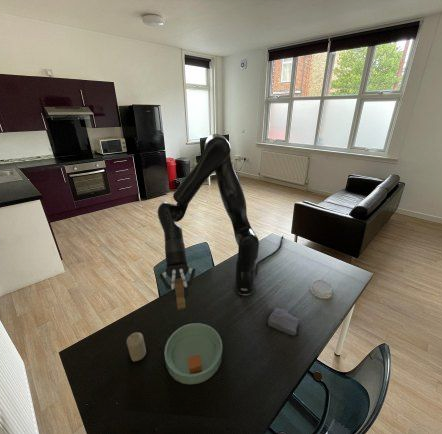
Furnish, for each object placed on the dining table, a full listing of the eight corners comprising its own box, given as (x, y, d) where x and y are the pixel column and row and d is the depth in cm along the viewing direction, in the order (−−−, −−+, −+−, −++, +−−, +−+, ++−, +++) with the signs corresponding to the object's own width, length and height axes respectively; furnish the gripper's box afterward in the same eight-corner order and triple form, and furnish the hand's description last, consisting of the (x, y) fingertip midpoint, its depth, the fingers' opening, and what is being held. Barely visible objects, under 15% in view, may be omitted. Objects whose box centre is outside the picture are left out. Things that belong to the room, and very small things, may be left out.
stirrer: (176, 303, 91) (174, 279, 86) (184, 302, 92) (182, 277, 86) (177, 309, 88) (174, 284, 83) (185, 308, 89) (183, 283, 84)
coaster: (328, 285, 121) (329, 280, 120) (334, 300, 112) (336, 294, 111) (308, 284, 122) (309, 278, 121) (312, 298, 113) (314, 292, 112)
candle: (137, 365, 84) (132, 346, 80) (127, 357, 87) (122, 338, 82) (149, 352, 88) (145, 334, 84) (139, 345, 91) (135, 327, 87)
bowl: (185, 325, 99) (185, 316, 97) (230, 343, 92) (231, 334, 90) (153, 370, 83) (152, 361, 80) (205, 396, 75) (205, 387, 73)
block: (188, 364, 84) (188, 357, 82) (200, 361, 85) (199, 354, 83) (190, 375, 80) (189, 368, 78) (201, 372, 81) (201, 365, 79)
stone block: (272, 313, 107) (266, 326, 99) (275, 304, 106) (268, 316, 97) (299, 324, 102) (294, 339, 94) (301, 315, 101) (297, 329, 92)
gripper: (155, 253, 86) (159, 303, 81) (194, 247, 89) (200, 295, 84) (157, 256, 93) (161, 303, 88) (193, 251, 96) (199, 296, 91)
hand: (180, 299), depth 86 cm, fingers closed on stirrer, 3 cm apart
